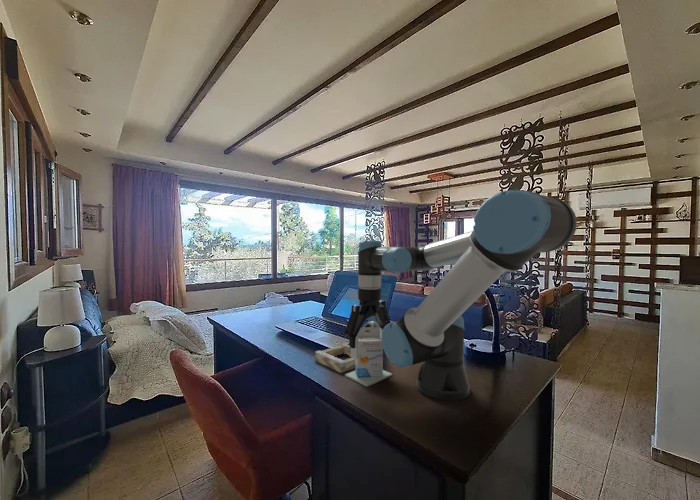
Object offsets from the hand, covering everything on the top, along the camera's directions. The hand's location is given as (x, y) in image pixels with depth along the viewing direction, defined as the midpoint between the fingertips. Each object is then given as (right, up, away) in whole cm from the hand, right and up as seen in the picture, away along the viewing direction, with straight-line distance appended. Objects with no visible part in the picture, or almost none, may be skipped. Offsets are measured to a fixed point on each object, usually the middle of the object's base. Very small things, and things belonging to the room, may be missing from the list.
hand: (368, 352), depth 99 cm
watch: (+3, -7, +28) cm, 29 cm away
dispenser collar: (-9, -7, +12) cm, 17 cm away
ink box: (0, -7, 0) cm, 7 cm away
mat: (0, -8, 0) cm, 8 cm away
